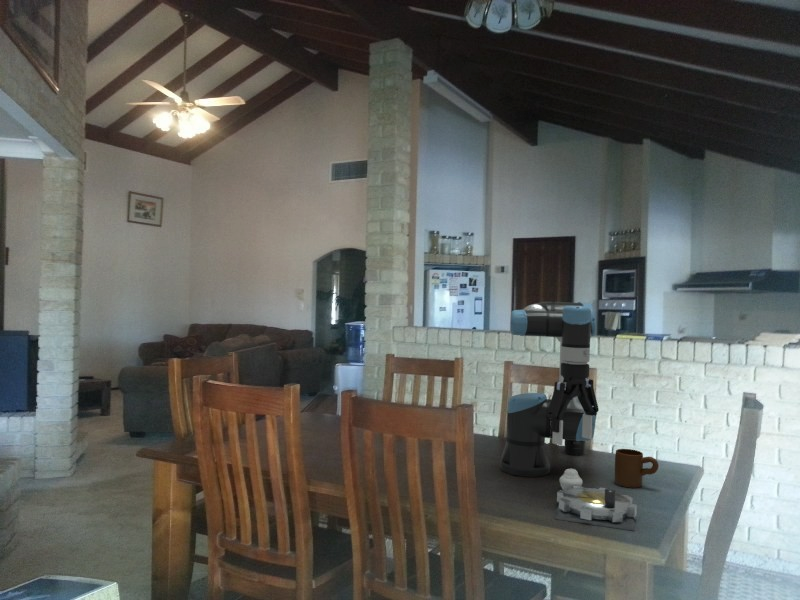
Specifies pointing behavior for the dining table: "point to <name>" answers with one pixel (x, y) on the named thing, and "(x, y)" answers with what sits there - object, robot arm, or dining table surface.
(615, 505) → the sprocket
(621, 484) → the mug
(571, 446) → the supplement bottle
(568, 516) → the base plate
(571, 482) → the muffin
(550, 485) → the dining table surface
